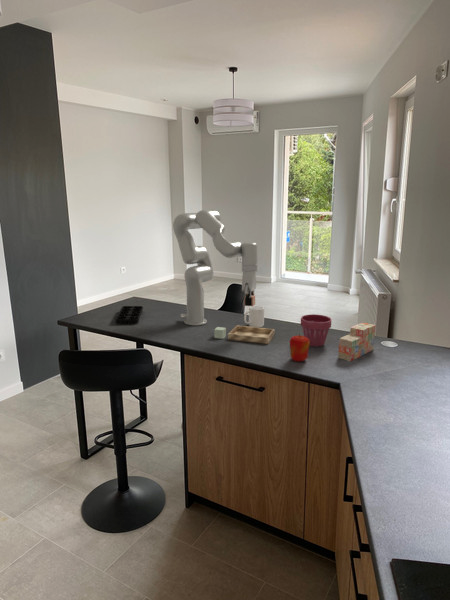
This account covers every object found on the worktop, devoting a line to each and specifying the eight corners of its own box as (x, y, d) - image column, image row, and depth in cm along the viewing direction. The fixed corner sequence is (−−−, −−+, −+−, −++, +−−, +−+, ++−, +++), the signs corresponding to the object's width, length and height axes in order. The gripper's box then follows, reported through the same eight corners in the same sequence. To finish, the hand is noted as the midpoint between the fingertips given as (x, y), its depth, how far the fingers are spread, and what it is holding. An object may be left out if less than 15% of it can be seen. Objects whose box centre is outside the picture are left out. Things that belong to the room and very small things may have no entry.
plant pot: (295, 345, 202) (297, 319, 199) (303, 337, 214) (305, 312, 211) (326, 350, 196) (328, 323, 193) (332, 341, 208) (334, 316, 205)
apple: (297, 365, 178) (299, 338, 175) (284, 358, 185) (285, 332, 182) (312, 361, 183) (314, 335, 180) (299, 355, 189) (300, 329, 187)
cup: (266, 326, 231) (267, 308, 229) (248, 329, 225) (249, 311, 223) (258, 322, 238) (258, 305, 236) (240, 325, 232) (240, 307, 230)
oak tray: (228, 339, 209) (228, 333, 208) (236, 330, 223) (236, 325, 222) (267, 344, 203) (268, 338, 202) (274, 334, 217) (274, 329, 216)
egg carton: (142, 310, 262) (142, 304, 261) (148, 324, 234) (148, 317, 234) (113, 312, 257) (112, 306, 256) (116, 326, 229) (115, 320, 228)
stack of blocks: (350, 362, 183) (352, 334, 180) (337, 358, 187) (339, 331, 184) (373, 350, 197) (375, 324, 194) (360, 346, 202) (363, 321, 199)
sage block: (214, 338, 212) (214, 329, 211) (217, 335, 216) (217, 326, 215) (222, 339, 210) (223, 330, 209) (225, 336, 214) (225, 327, 213)
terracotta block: (244, 305, 210) (244, 296, 209) (246, 303, 214) (246, 295, 213) (252, 306, 208) (252, 297, 208) (255, 304, 213) (255, 295, 212)
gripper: (246, 265, 216) (247, 300, 220) (237, 270, 201) (237, 308, 205) (261, 266, 214) (261, 301, 218) (252, 270, 198) (252, 308, 202)
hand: (249, 304), depth 211 cm, fingers closed on terracotta block, 4 cm apart
